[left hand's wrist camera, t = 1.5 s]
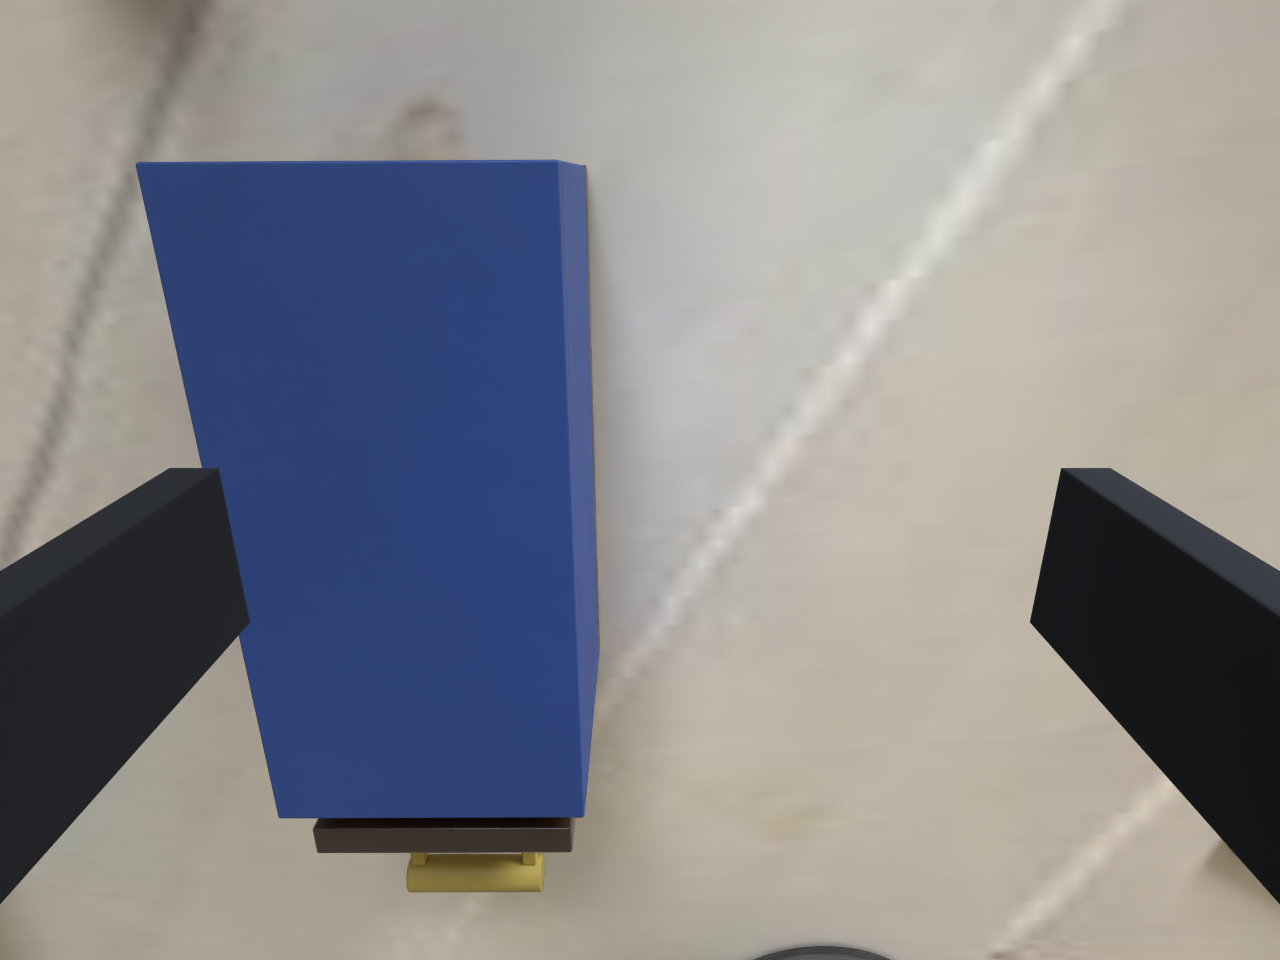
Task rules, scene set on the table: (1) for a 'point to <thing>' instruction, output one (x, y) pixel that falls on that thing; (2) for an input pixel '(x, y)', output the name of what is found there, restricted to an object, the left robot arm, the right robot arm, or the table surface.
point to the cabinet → (399, 469)
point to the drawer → (455, 848)
